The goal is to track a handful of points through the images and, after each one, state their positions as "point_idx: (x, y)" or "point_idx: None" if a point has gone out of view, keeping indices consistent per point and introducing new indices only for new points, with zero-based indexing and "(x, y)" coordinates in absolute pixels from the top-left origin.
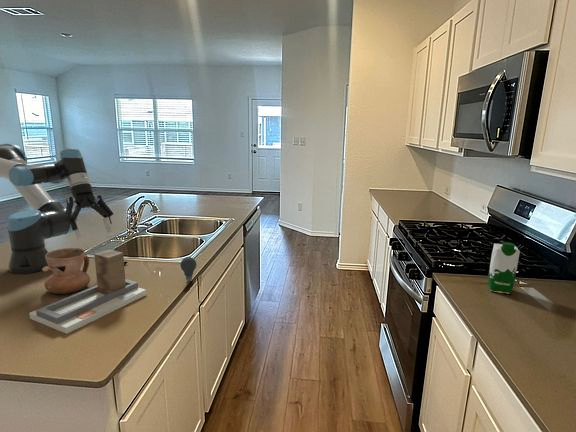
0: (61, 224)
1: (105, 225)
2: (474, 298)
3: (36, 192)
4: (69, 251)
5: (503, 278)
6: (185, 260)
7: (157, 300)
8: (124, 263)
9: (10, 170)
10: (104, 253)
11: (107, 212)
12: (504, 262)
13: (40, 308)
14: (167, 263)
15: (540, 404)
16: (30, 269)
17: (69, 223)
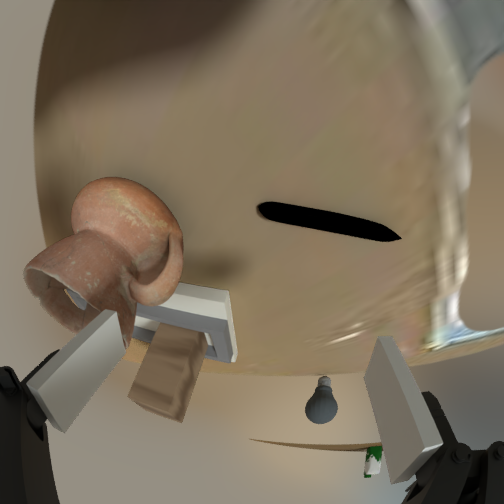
0: None
1: (398, 393)
2: (358, 445)
3: None
4: (88, 285)
5: (366, 457)
6: (310, 419)
7: (234, 365)
8: (380, 239)
9: None
10: (147, 407)
11: (491, 489)
12: (365, 467)
13: (71, 292)
14: (421, 321)
15: (259, 440)
16: None
17: (9, 367)
